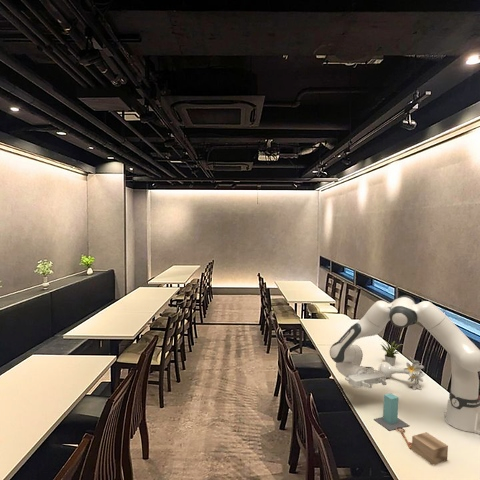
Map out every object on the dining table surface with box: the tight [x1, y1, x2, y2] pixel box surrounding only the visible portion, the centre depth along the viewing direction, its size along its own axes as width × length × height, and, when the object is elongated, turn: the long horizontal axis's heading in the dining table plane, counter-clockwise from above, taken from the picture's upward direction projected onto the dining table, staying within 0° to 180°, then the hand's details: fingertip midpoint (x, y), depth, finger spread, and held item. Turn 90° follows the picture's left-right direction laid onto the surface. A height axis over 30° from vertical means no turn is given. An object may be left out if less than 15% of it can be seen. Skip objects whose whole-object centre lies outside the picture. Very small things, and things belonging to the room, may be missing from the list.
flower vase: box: [377, 356, 425, 391], centre depth 219 cm, size 13×18×25 cm
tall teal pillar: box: [382, 393, 400, 424], centre depth 174 cm, size 4×4×12 cm
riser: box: [411, 432, 449, 466], centre depth 149 cm, size 8×10×6 cm
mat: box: [373, 416, 410, 432], centre depth 173 cm, size 12×10×1 cm
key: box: [396, 427, 412, 450], centre depth 160 cm, size 6×1×15 cm
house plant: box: [380, 340, 404, 367], centre depth 246 cm, size 14×14×16 cm
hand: (378, 385), depth 183 cm, fingers open, 8 cm apart
